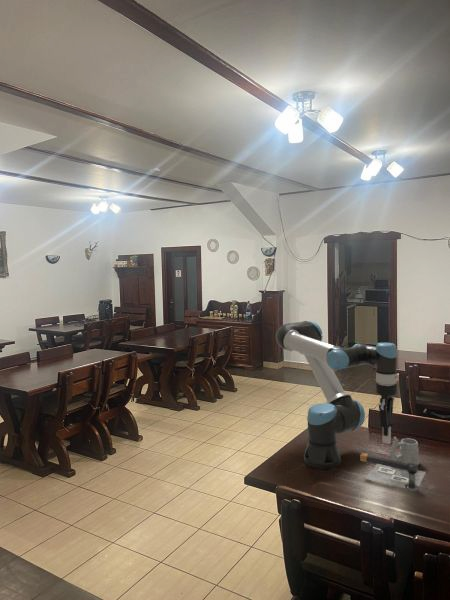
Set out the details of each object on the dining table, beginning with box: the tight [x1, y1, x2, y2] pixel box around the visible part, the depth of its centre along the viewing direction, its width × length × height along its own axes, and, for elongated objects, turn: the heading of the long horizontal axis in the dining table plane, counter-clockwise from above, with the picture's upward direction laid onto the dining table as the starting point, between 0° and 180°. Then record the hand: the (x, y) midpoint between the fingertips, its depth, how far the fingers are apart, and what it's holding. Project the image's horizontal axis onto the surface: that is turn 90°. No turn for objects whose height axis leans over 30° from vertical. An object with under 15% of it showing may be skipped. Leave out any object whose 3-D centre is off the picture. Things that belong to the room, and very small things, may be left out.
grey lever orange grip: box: [359, 452, 418, 473], centre depth 169 cm, size 20×4×2 cm, turn 54°
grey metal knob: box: [404, 473, 420, 492], centre depth 164 cm, size 5×5×7 cm
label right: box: [390, 475, 409, 484], centre depth 170 cm, size 6×4×1 cm, turn 56°
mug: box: [389, 436, 421, 467], centre depth 183 cm, size 8×12×12 cm, turn 95°
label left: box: [377, 467, 396, 475], centre depth 177 cm, size 6×4×1 cm, turn 56°
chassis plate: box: [366, 464, 427, 492], centre depth 174 cm, size 18×17×1 cm
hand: (386, 442), depth 176 cm, fingers closed
